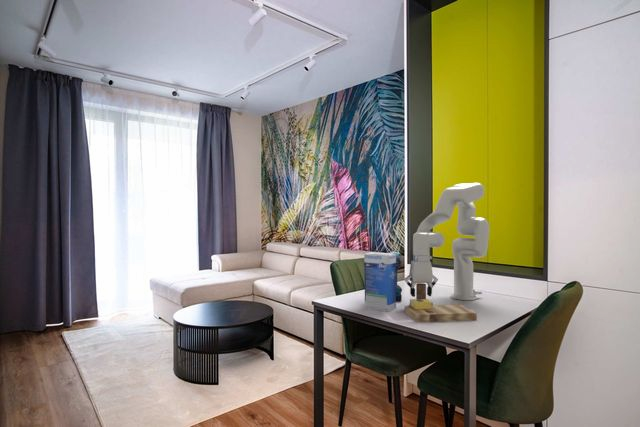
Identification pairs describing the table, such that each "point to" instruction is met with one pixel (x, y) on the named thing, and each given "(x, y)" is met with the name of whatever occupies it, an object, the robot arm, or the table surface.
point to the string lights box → (380, 281)
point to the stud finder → (421, 304)
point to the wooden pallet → (441, 313)
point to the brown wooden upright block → (420, 291)
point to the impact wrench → (398, 264)
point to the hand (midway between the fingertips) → (421, 295)
